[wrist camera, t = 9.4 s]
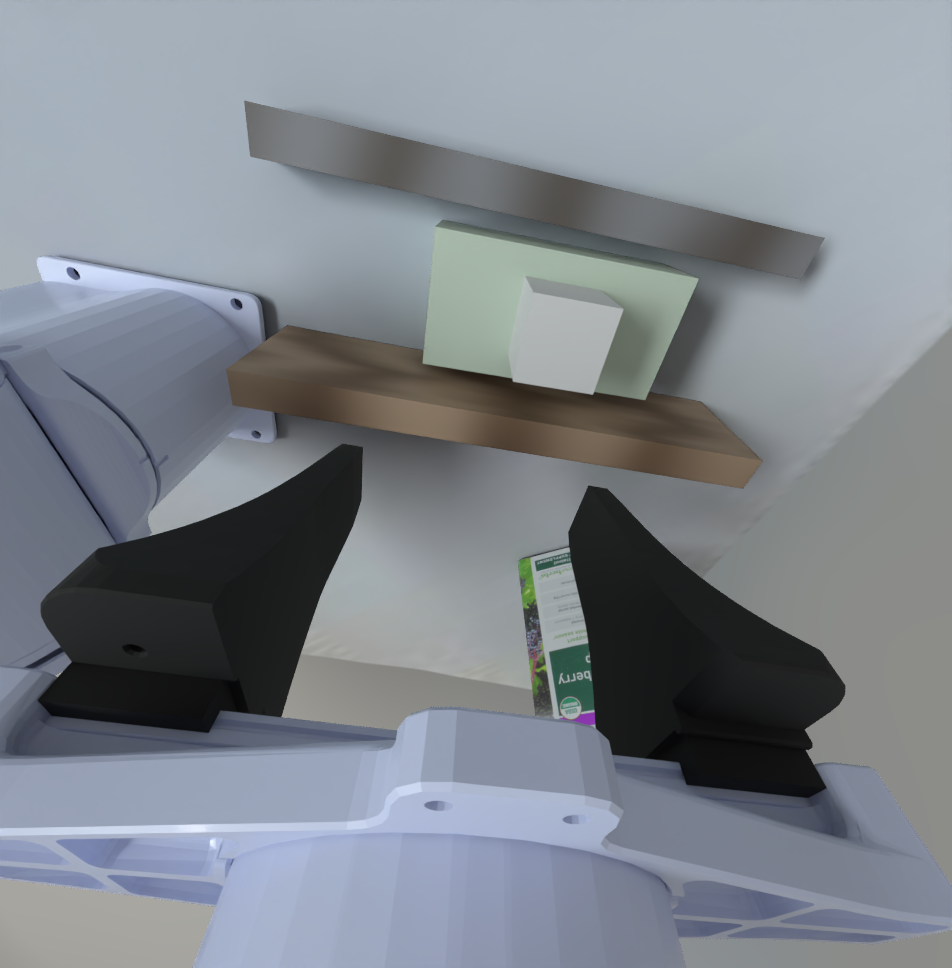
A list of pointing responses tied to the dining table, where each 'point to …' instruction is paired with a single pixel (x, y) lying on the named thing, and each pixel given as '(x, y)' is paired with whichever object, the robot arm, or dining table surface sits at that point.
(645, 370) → the mint block with knob
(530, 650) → the syrup box
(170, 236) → the dining table surface
